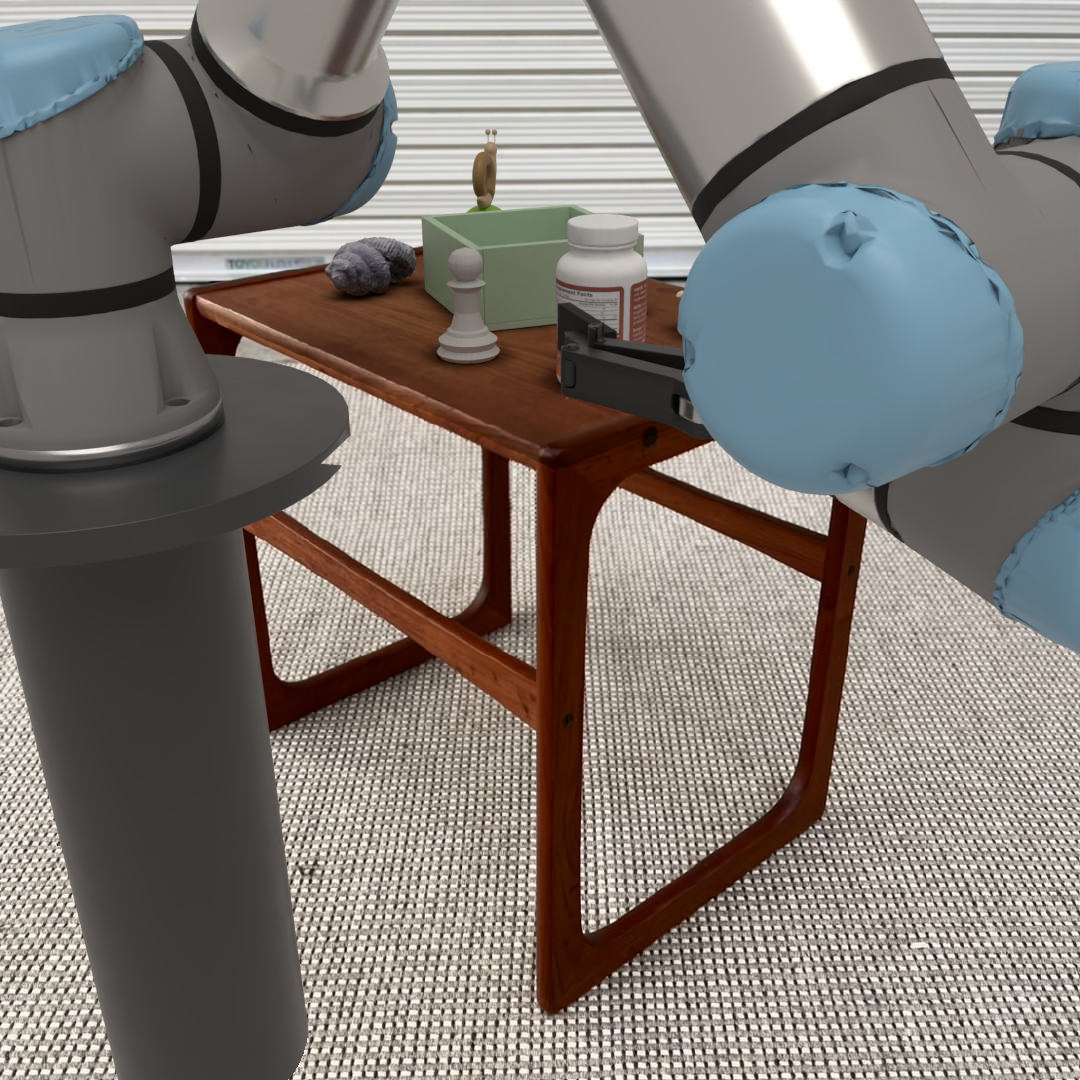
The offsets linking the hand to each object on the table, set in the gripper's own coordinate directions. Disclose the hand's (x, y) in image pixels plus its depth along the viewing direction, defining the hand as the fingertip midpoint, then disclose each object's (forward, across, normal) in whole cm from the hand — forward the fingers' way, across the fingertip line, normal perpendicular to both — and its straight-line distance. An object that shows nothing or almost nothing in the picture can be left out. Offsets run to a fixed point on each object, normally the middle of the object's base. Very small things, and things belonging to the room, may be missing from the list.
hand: (668, 313), depth 69 cm
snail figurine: (+49, +5, -7) cm, 50 cm away
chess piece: (+19, -7, -7) cm, 22 cm away
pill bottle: (+10, 0, -7) cm, 12 cm away
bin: (+32, +3, -7) cm, 33 cm away
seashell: (+40, -9, -7) cm, 42 cm away
